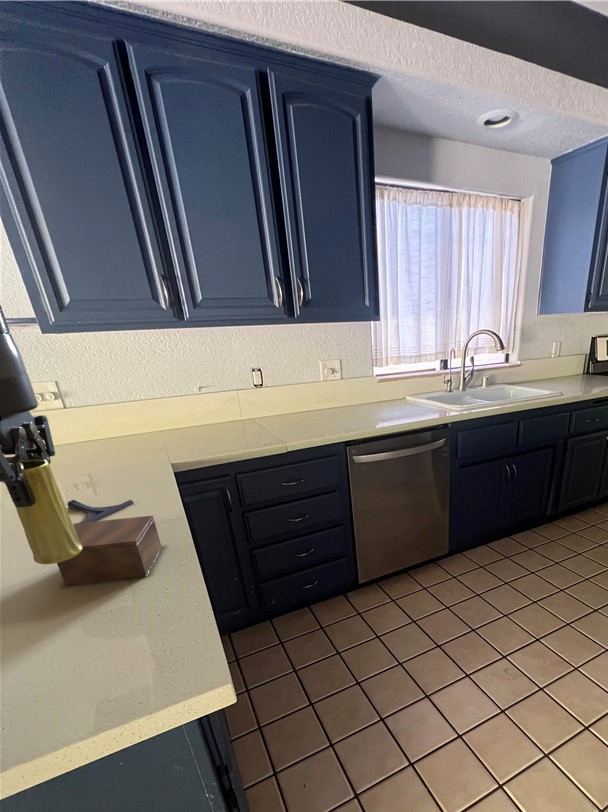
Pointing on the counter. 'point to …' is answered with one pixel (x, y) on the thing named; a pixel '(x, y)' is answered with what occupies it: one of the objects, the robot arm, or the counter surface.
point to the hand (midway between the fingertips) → (37, 497)
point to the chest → (113, 561)
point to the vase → (47, 517)
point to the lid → (112, 532)
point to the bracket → (97, 510)
